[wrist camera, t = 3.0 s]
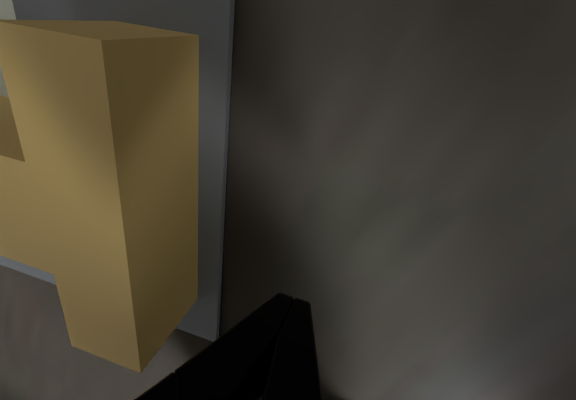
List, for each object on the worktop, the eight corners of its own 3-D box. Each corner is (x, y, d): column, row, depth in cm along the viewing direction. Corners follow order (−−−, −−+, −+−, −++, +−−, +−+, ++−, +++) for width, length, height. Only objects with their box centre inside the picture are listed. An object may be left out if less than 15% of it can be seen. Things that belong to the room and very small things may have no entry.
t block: (198, 35, 11) (101, 40, 7) (197, 298, 16) (140, 373, 13) (-28, -4, 12) (-191, -15, 9) (38, 244, 18) (-50, 297, 14)
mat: (237, -60, 10) (233, -62, 9) (218, 337, 17) (215, 342, 17) (-238, -112, 14) (-250, -114, 13) (-81, 230, 21) (-87, 232, 21)
